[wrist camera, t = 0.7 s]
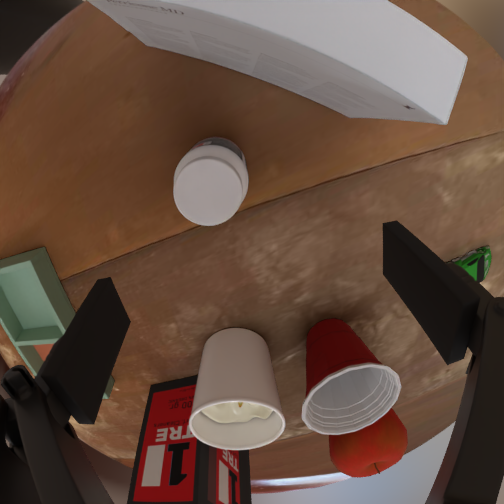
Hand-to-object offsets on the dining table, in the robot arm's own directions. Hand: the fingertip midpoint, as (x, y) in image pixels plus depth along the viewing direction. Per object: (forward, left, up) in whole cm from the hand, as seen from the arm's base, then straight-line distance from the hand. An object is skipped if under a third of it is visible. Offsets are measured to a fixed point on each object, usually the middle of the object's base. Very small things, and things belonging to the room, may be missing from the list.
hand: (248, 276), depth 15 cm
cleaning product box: (+33, -13, -18) cm, 40 cm away
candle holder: (+21, -5, -18) cm, 28 cm away
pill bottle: (-2, -2, -18) cm, 18 cm away
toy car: (+16, +27, -18) cm, 36 cm away
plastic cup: (+21, +7, -18) cm, 28 cm away
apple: (+38, +11, -18) cm, 43 cm away
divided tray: (+13, -30, -18) cm, 37 cm away
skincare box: (-12, +4, -18) cm, 22 cm away
